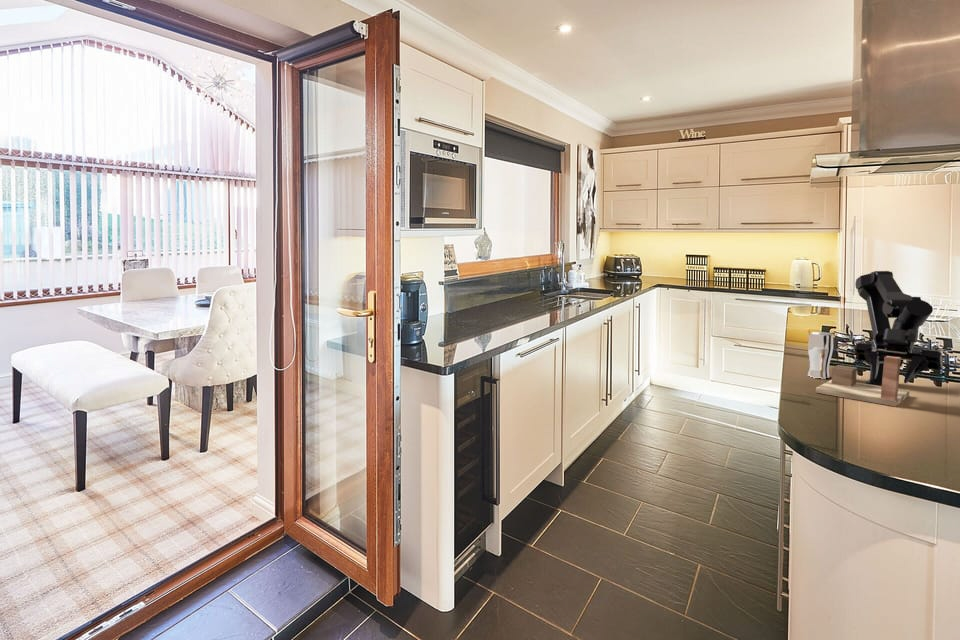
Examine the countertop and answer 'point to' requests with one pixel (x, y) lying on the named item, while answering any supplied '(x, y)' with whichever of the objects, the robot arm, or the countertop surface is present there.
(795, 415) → the countertop surface
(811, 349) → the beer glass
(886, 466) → the countertop surface
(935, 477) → the countertop surface
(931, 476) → the countertop surface
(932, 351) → the robot arm
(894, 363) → the board with upright post
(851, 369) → the walnut cube
